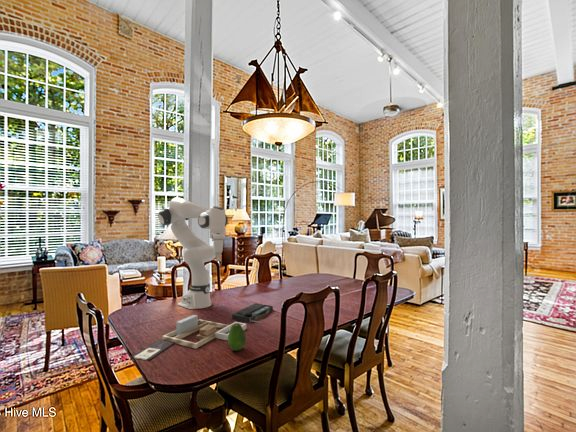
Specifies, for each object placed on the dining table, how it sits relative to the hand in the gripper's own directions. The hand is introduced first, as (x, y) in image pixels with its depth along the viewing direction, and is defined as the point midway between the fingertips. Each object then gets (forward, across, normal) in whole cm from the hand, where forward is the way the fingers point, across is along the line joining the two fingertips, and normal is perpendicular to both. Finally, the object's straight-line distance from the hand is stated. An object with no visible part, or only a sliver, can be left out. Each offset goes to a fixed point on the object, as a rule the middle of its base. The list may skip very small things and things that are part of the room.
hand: (217, 259), depth 174 cm
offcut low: (+36, +22, -6) cm, 42 cm away
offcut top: (+33, +21, -6) cm, 40 cm away
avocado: (+35, +41, +6) cm, 54 cm away
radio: (+36, -3, +24) cm, 43 cm away
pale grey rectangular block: (+35, +13, -16) cm, 41 cm away
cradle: (+35, +20, +6) cm, 41 cm away
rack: (+35, +17, -11) cm, 40 cm away
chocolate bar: (+36, +30, -29) cm, 55 cm away
